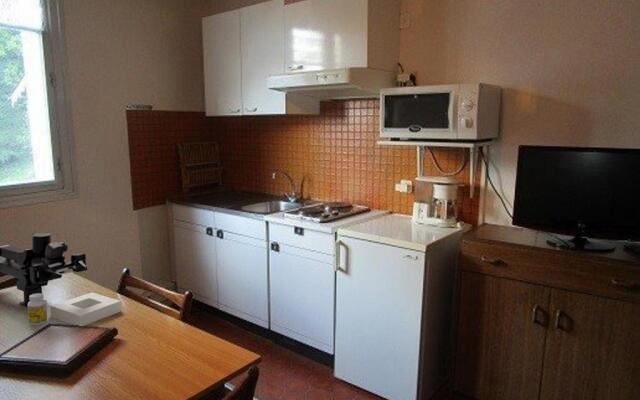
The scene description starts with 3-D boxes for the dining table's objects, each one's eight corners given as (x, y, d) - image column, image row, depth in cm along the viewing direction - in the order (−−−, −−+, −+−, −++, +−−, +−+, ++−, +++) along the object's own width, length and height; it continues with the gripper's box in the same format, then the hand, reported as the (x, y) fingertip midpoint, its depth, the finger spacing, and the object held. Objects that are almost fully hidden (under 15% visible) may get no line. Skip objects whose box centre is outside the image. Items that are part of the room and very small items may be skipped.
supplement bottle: (50, 319, 153) (48, 292, 152) (42, 325, 148) (41, 297, 147) (33, 319, 153) (31, 292, 151) (25, 325, 147) (23, 298, 146)
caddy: (50, 316, 155) (50, 305, 155) (92, 302, 169) (92, 292, 169) (80, 327, 148) (79, 315, 148) (121, 311, 162) (120, 300, 162)
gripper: (18, 247, 150) (45, 256, 143) (70, 236, 166) (98, 243, 159) (20, 279, 152) (47, 289, 145) (72, 264, 168) (99, 273, 161)
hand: (74, 272), depth 153 cm, fingers open, 9 cm apart
